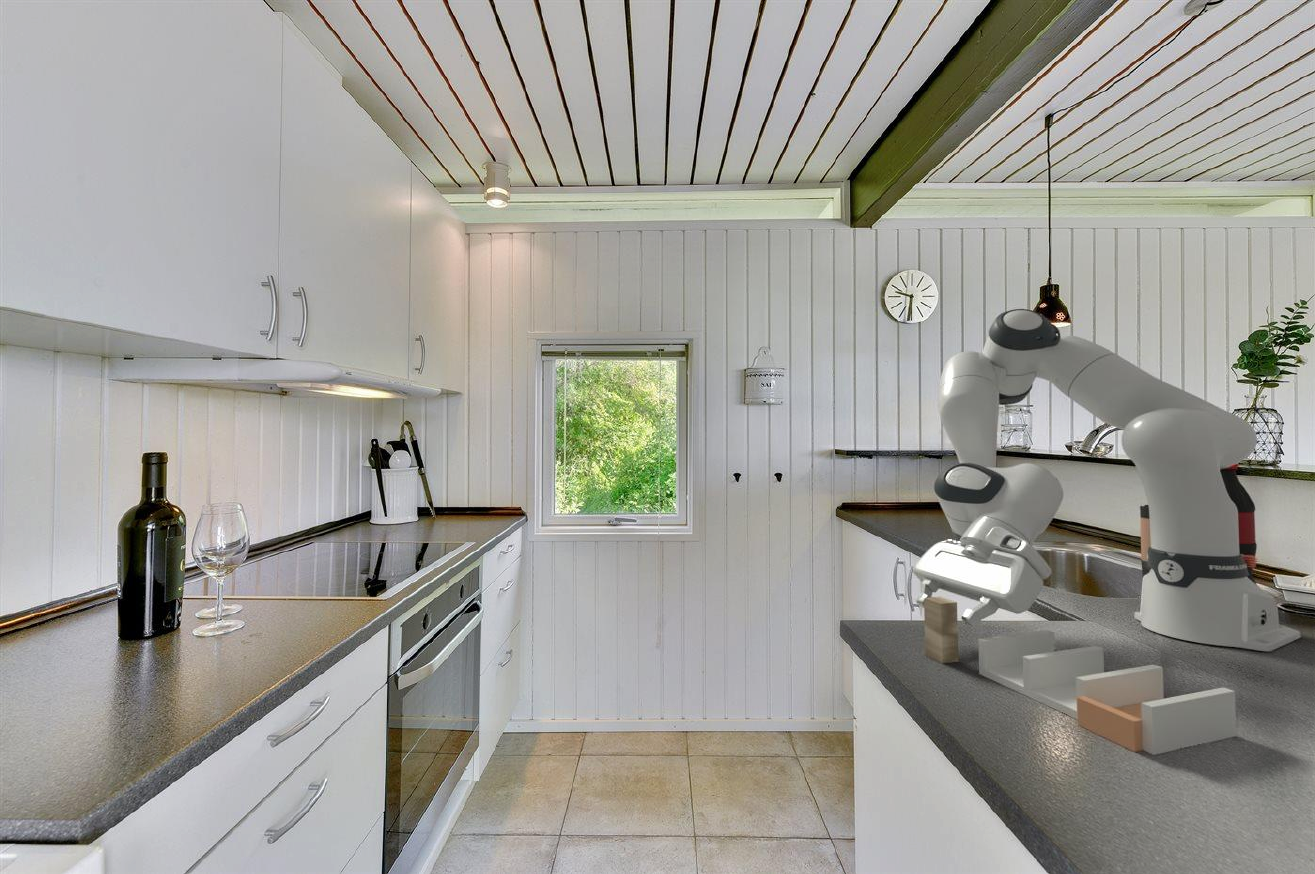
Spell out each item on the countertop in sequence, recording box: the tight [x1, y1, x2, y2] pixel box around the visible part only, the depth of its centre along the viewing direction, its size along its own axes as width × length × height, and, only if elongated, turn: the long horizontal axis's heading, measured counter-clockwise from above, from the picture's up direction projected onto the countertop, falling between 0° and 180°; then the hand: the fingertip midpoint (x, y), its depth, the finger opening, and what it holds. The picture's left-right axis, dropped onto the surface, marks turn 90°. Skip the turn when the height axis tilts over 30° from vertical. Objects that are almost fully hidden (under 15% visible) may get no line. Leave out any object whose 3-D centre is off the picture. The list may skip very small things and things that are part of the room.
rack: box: [977, 629, 1238, 756], centre depth 70 cm, size 14×22×5 cm, turn 16°
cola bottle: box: [1220, 463, 1258, 586], centre depth 112 cm, size 8×8×30 cm
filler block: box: [923, 596, 960, 664], centre depth 85 cm, size 3×4×9 cm
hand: (943, 613), depth 86 cm, fingers open, 8 cm apart
